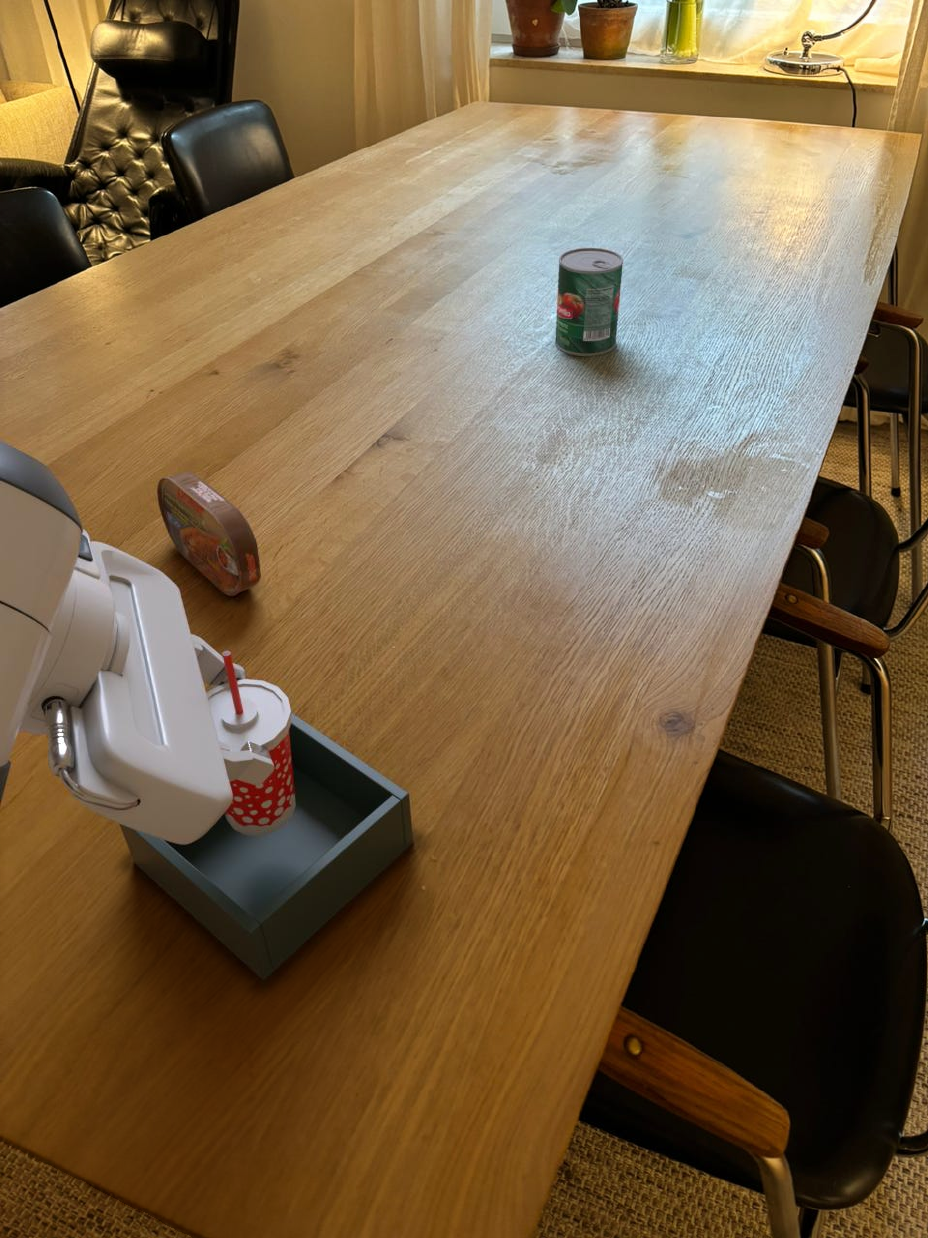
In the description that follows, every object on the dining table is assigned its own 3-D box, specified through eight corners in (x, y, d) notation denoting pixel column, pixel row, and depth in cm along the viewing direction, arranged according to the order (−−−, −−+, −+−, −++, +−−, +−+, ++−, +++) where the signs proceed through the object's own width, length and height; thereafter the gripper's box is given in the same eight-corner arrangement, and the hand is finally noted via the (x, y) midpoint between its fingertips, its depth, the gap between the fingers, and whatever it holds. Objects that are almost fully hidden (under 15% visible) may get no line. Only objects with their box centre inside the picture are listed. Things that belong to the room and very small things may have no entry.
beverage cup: (219, 775, 68) (179, 621, 59) (309, 769, 68) (283, 615, 59) (208, 849, 63) (164, 694, 54) (305, 842, 64) (276, 688, 55)
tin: (164, 539, 97) (145, 464, 92) (193, 526, 99) (175, 453, 93) (243, 613, 88) (226, 536, 83) (273, 598, 90) (259, 521, 84)
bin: (263, 981, 61) (250, 933, 58) (134, 862, 68) (114, 813, 65) (413, 842, 69) (409, 793, 66) (283, 748, 76) (273, 699, 72)
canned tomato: (542, 342, 129) (545, 258, 122) (583, 324, 133) (589, 242, 126) (587, 362, 124) (592, 276, 117) (628, 343, 128) (636, 258, 121)
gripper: (91, 744, 44) (328, 817, 53) (59, 501, 58) (249, 591, 67) (15, 836, 45) (257, 892, 54) (3, 578, 60) (196, 656, 69)
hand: (252, 724), depth 61 cm, fingers closed on beverage cup, 6 cm apart
